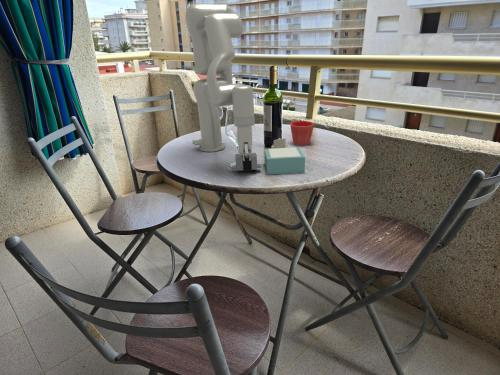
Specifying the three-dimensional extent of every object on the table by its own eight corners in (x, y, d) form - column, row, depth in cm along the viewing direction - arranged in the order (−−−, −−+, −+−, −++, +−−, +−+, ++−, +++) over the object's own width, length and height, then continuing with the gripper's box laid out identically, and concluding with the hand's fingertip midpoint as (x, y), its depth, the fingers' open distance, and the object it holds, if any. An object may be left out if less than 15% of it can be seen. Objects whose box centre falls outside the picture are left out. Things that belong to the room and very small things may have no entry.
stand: (267, 174, 118) (267, 158, 115) (264, 163, 129) (264, 148, 126) (304, 172, 118) (305, 156, 116) (298, 161, 129) (299, 146, 127)
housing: (231, 170, 118) (230, 155, 116) (231, 166, 123) (230, 151, 121) (261, 169, 119) (261, 153, 116) (260, 164, 124) (259, 150, 122)
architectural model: (270, 154, 140) (270, 138, 137) (284, 152, 142) (284, 136, 139) (273, 156, 137) (273, 140, 134) (288, 154, 139) (288, 138, 136)
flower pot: (313, 146, 146) (314, 126, 142) (289, 146, 148) (289, 126, 144) (312, 140, 156) (313, 120, 152) (290, 140, 158) (290, 120, 154)
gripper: (234, 117, 123) (237, 161, 130) (233, 126, 107) (237, 176, 114) (253, 116, 123) (255, 159, 130) (256, 125, 107) (258, 174, 114)
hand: (247, 167), depth 122 cm, fingers open, 6 cm apart
